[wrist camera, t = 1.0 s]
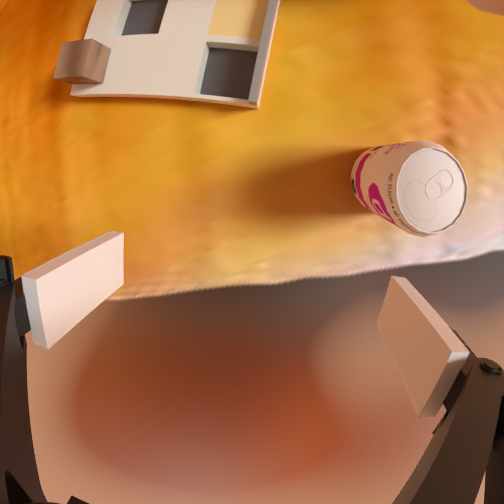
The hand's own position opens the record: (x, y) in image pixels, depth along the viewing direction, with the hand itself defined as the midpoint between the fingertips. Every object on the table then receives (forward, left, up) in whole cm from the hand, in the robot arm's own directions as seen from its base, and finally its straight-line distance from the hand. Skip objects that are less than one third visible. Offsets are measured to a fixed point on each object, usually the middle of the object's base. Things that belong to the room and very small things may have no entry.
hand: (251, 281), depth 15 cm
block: (-16, -27, -22) cm, 38 cm away
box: (-20, -17, -25) cm, 36 cm away
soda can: (-6, +13, -25) cm, 29 cm away
